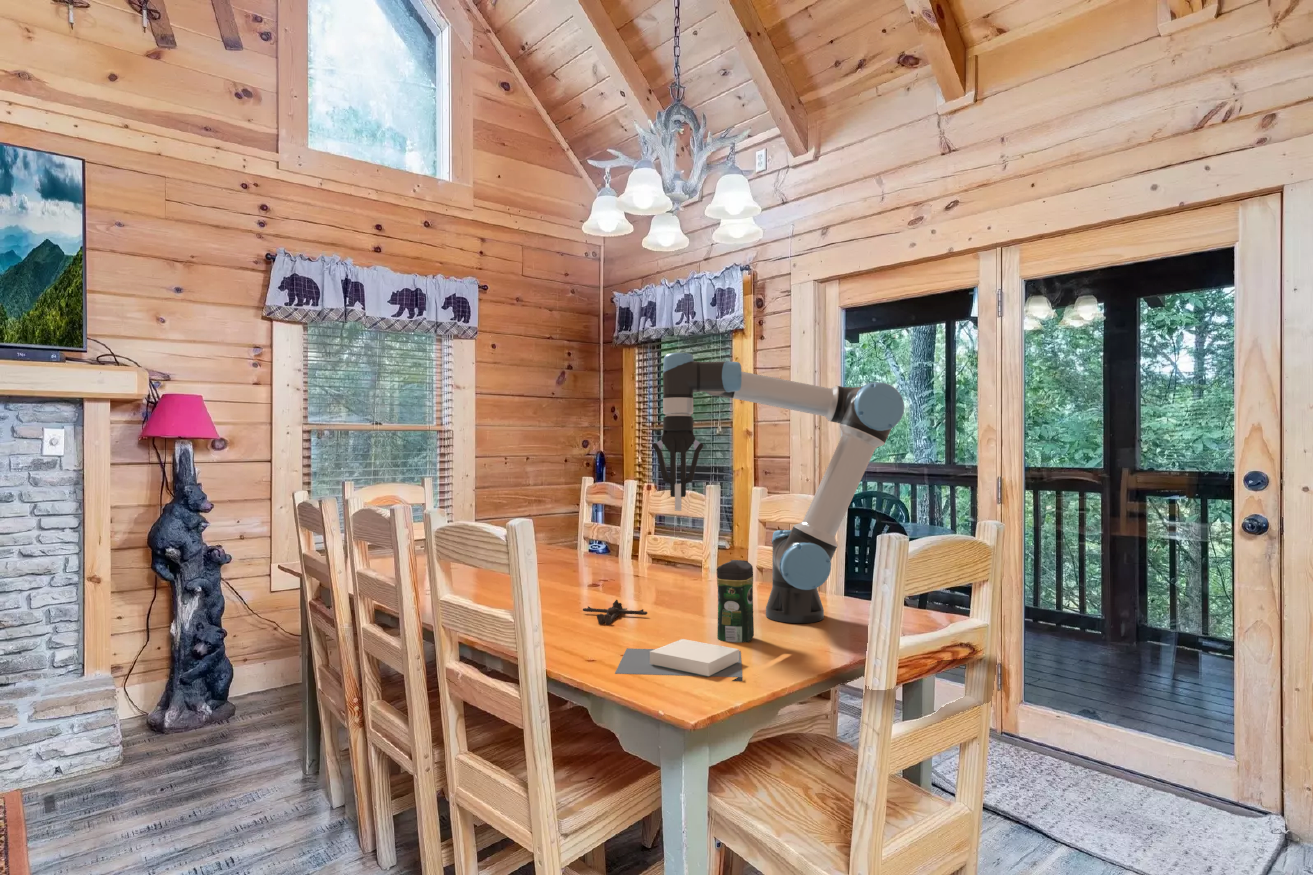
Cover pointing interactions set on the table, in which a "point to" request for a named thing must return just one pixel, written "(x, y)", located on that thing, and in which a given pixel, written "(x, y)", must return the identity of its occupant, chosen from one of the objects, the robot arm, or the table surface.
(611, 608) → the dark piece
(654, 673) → the mat
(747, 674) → the table surface
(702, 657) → the tile
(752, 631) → the coffee jar
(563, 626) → the table surface
